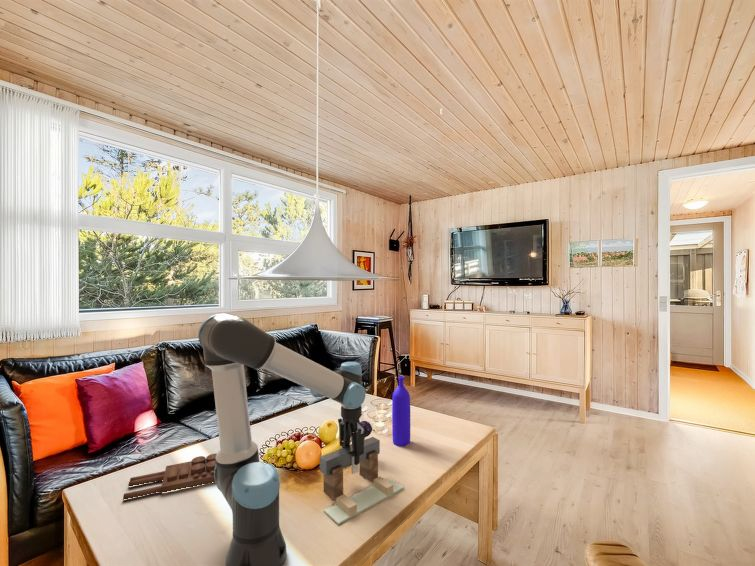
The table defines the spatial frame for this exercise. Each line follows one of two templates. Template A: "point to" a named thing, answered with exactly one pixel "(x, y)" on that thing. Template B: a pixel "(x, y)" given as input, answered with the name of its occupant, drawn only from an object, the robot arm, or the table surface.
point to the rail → (347, 456)
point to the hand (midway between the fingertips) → (351, 469)
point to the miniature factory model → (177, 476)
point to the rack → (335, 480)
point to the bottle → (401, 415)
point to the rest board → (362, 500)
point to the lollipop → (366, 428)
